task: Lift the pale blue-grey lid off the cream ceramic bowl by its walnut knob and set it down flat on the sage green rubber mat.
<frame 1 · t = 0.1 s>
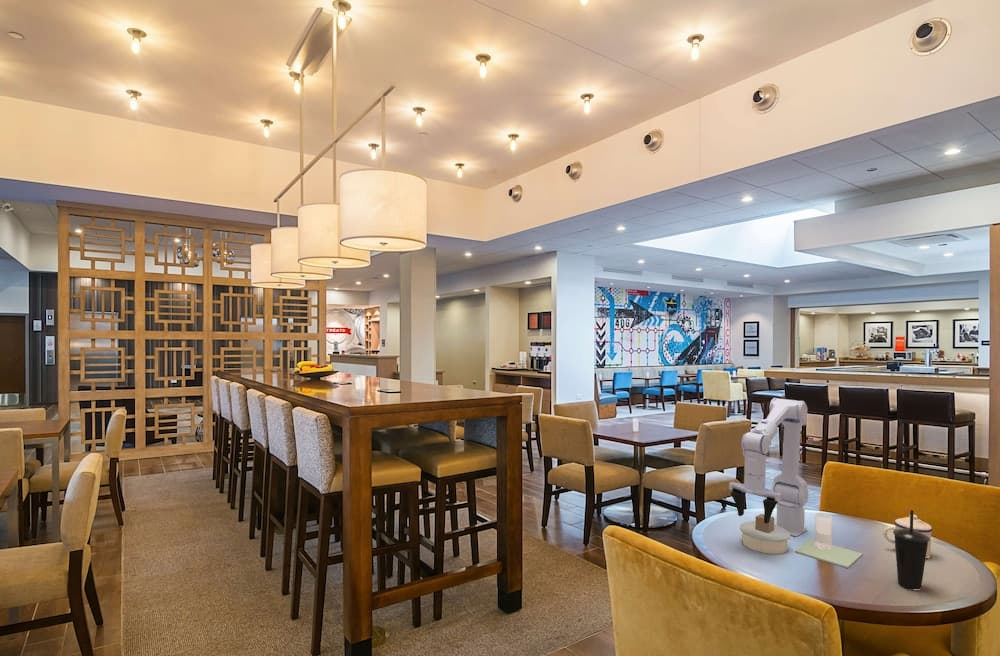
hand: (753, 518, 163), 10 cm above the table, tool pointing down, fingers open, 7 cm apart
cover: (764, 532, 168), point 4 cm above the table, touching bowl
teacup with lid: (906, 553, 165), on the table
bowl: (764, 545, 168), on the table
drinking cup: (909, 587, 144), on the table
mat: (828, 553, 163), on the table
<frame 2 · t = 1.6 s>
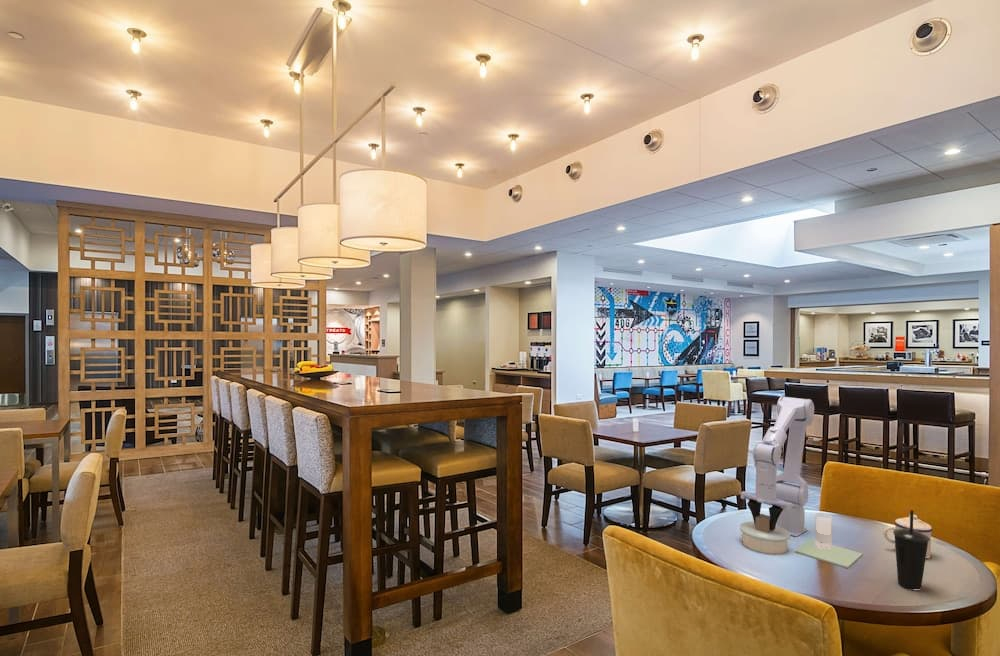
hand: (764, 527, 168), 6 cm above the table, tool pointing down, fingers closed on cover, 4 cm apart
cover: (764, 532, 168), point 4 cm above the table, touching bowl, gripper
everything else where it was.
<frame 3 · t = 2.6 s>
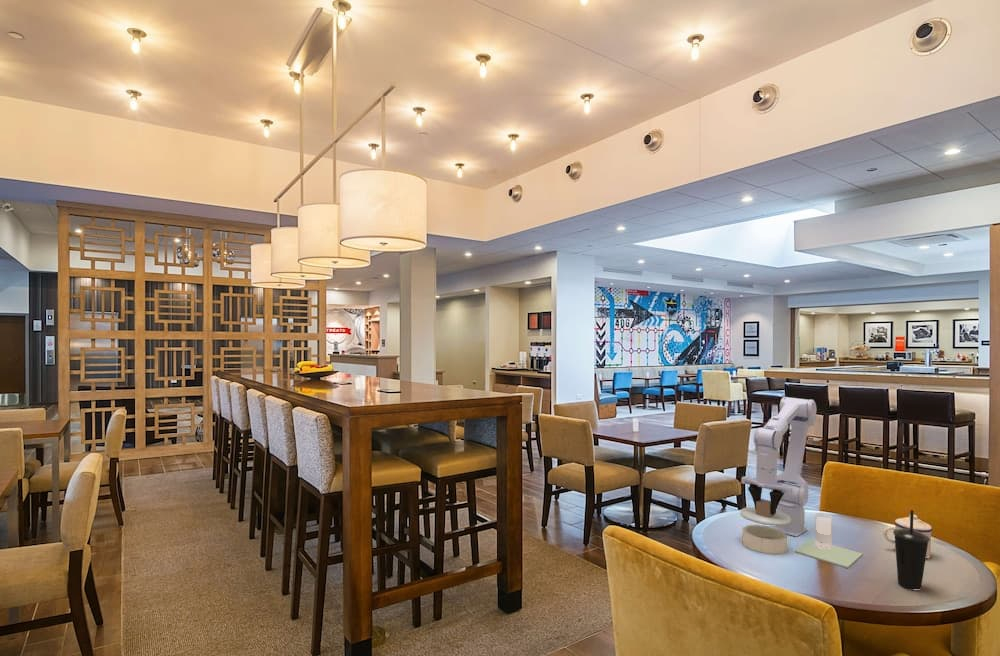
hand: (765, 511, 168), 10 cm above the table, tool pointing down, fingers closed on cover, 4 cm apart
cover: (765, 517, 168), point 9 cm above the table, touching gripper
everything else where it was.
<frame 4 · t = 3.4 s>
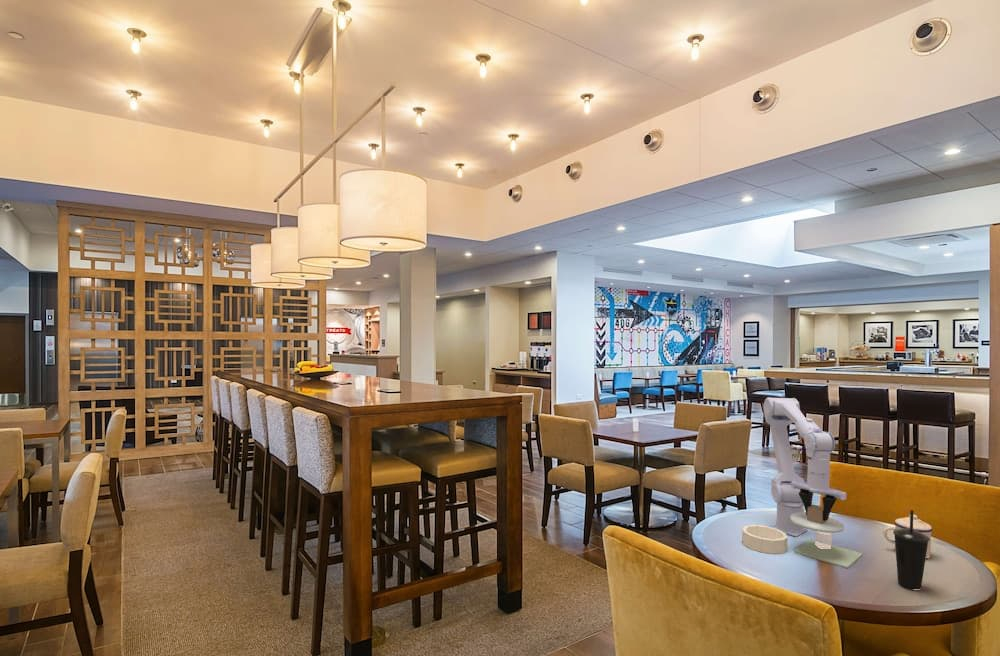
hand: (817, 517, 164), 10 cm above the table, tool pointing down, fingers closed on cover, 4 cm apart
cover: (816, 523, 164), point 9 cm above the table, touching gripper
everything else where it was.
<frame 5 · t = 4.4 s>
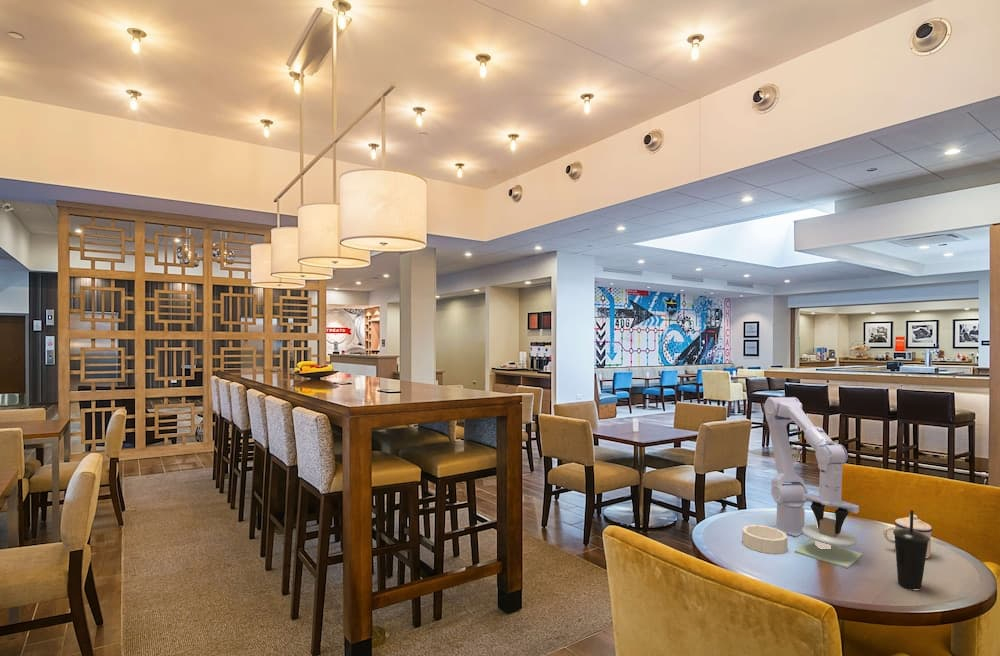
hand: (829, 530, 163), 7 cm above the table, tool pointing down, fingers closed on cover, 4 cm apart
cover: (828, 536, 163), point 5 cm above the table, touching gripper
everything else where it was.
when the fingers open (4 cm above the table, at t = 5.4 s): cover drops 1 cm, resting on mat.
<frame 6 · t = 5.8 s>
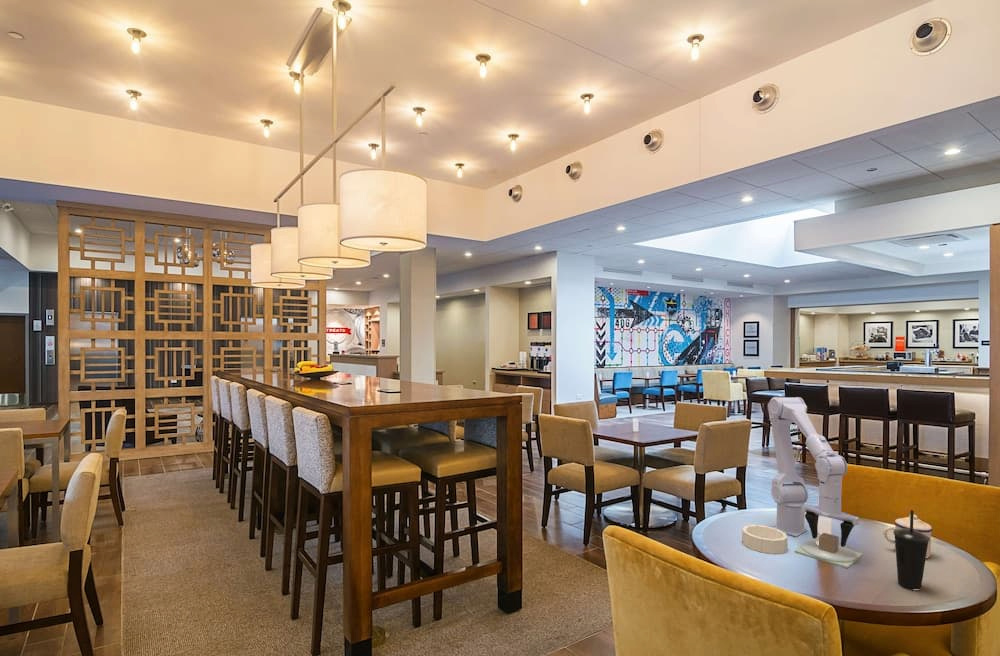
hand: (828, 541, 163), 4 cm above the table, tool pointing down, fingers open, 7 cm apart
cover: (828, 552, 163), resting on mat
everything else where it was.
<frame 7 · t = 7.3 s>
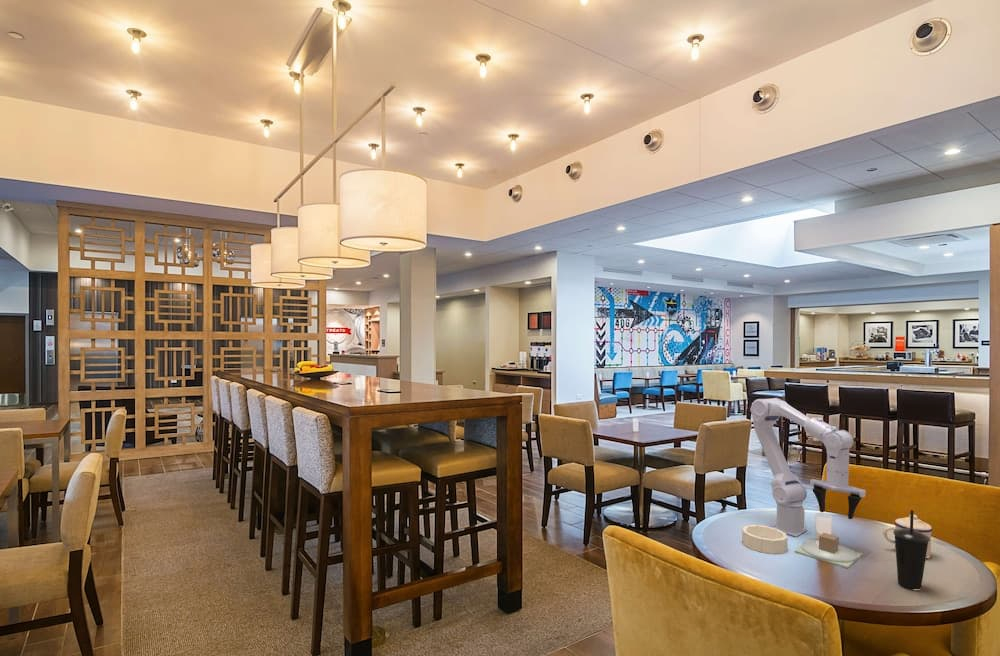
hand: (836, 514, 167), 10 cm above the table, tool pointing down, fingers open, 7 cm apart
nothing on the table moved.
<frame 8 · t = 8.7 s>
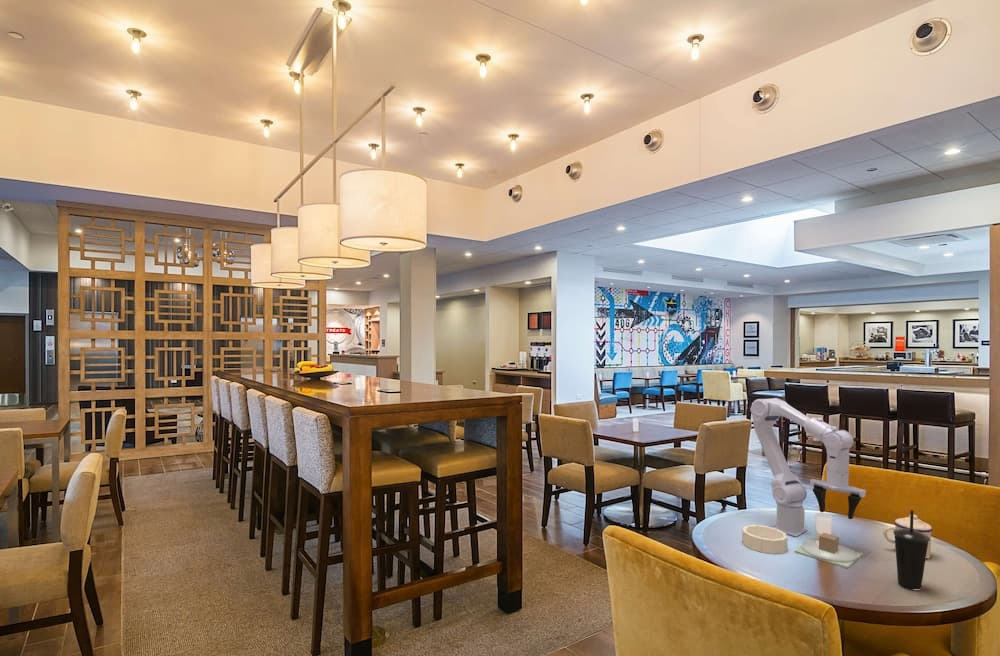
hand: (836, 514, 167), 10 cm above the table, tool pointing down, fingers open, 7 cm apart
nothing on the table moved.
at the end: cover inside the target area on the mat (0.1 cm from its centre), point 0.5 cm above the mat's base; cover touching mat; cover tilted 0° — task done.
